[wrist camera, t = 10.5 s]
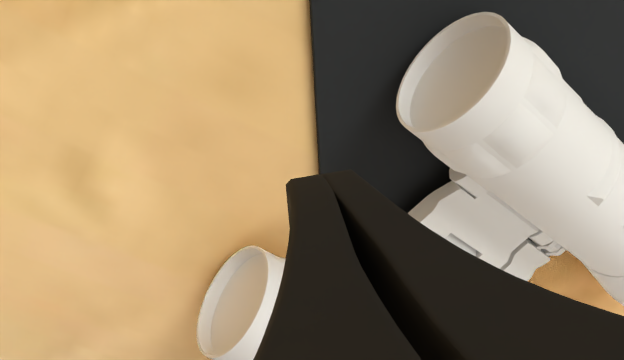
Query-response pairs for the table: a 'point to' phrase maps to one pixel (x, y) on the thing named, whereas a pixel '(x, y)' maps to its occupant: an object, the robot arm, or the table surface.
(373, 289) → the robot arm
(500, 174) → the binoculars
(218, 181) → the table surface
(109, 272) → the table surface
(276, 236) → the table surface
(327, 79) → the mat
